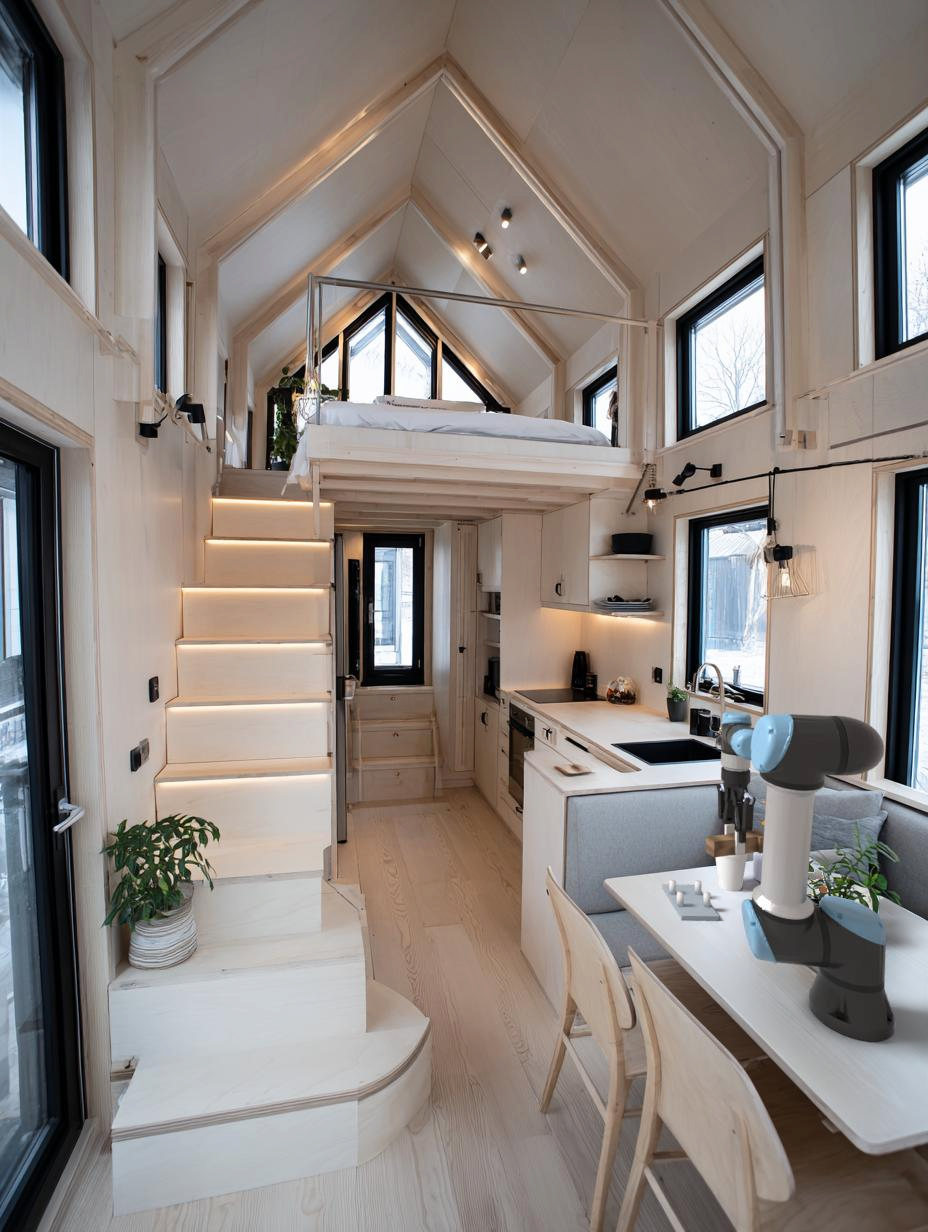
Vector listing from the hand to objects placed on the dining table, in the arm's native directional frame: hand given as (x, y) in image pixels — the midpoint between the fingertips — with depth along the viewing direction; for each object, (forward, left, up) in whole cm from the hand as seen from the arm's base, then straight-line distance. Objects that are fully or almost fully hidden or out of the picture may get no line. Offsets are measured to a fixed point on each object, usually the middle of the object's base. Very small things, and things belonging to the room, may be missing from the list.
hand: (734, 850), depth 171 cm
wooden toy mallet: (0, 0, 0) cm, 1 cm away
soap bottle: (+18, -18, -17) cm, 31 cm away
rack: (+2, +12, -17) cm, 21 cm away
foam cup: (+13, -4, -17) cm, 22 cm away
